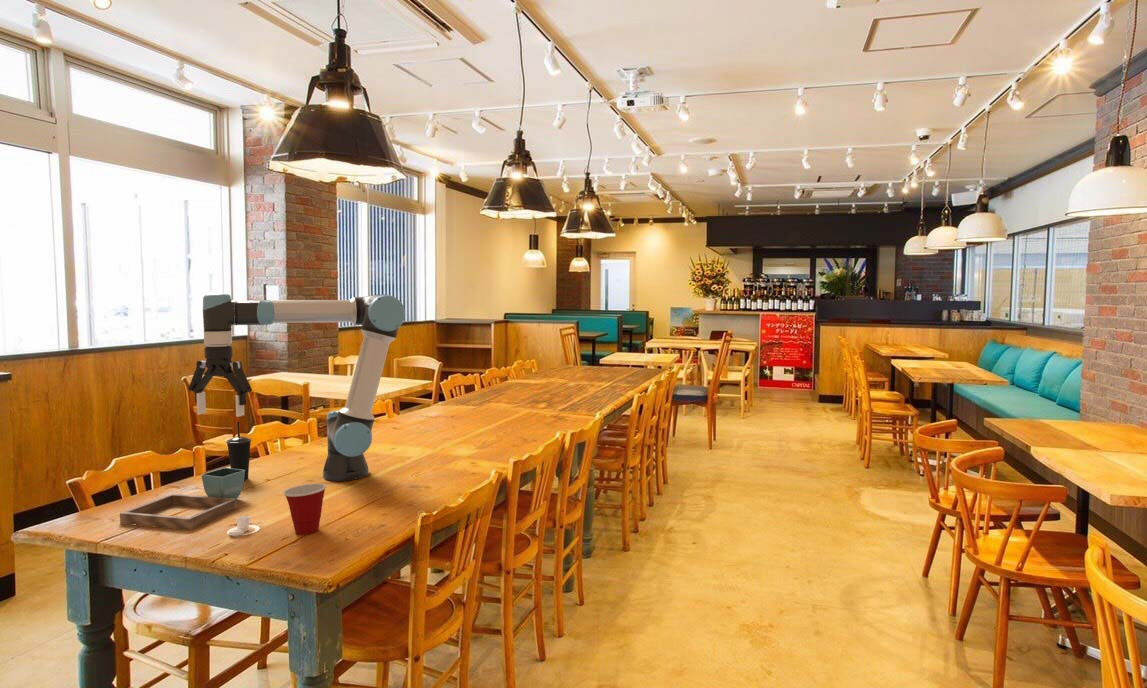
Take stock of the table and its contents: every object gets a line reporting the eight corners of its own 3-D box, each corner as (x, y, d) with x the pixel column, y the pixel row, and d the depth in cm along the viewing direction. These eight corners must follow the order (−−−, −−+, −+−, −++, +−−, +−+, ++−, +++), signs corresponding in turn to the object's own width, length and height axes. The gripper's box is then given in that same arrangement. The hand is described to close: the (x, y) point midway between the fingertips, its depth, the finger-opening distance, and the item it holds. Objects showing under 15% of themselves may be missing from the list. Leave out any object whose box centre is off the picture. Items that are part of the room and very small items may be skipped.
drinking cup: (242, 483, 225) (240, 424, 224) (222, 482, 227) (220, 423, 225) (257, 477, 233) (255, 420, 231) (238, 476, 234) (236, 419, 233)
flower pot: (201, 503, 205) (200, 474, 204) (226, 495, 213) (225, 467, 212) (222, 506, 201) (221, 477, 201) (246, 498, 209) (245, 470, 209)
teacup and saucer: (235, 540, 175) (234, 525, 175) (217, 534, 180) (217, 519, 179) (266, 530, 183) (265, 515, 182) (248, 525, 187) (248, 510, 187)
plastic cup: (296, 523, 187) (295, 481, 186) (334, 524, 186) (333, 482, 185) (276, 537, 176) (274, 492, 175) (315, 539, 175) (314, 494, 174)
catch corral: (237, 508, 199) (237, 498, 199) (189, 530, 182) (189, 519, 181) (172, 503, 204) (172, 493, 204) (120, 523, 186) (119, 513, 186)
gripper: (263, 345, 204) (265, 414, 206) (192, 343, 210) (195, 410, 211) (246, 347, 197) (248, 418, 199) (173, 345, 202) (176, 415, 204)
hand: (220, 415), depth 205 cm, fingers open, 13 cm apart
